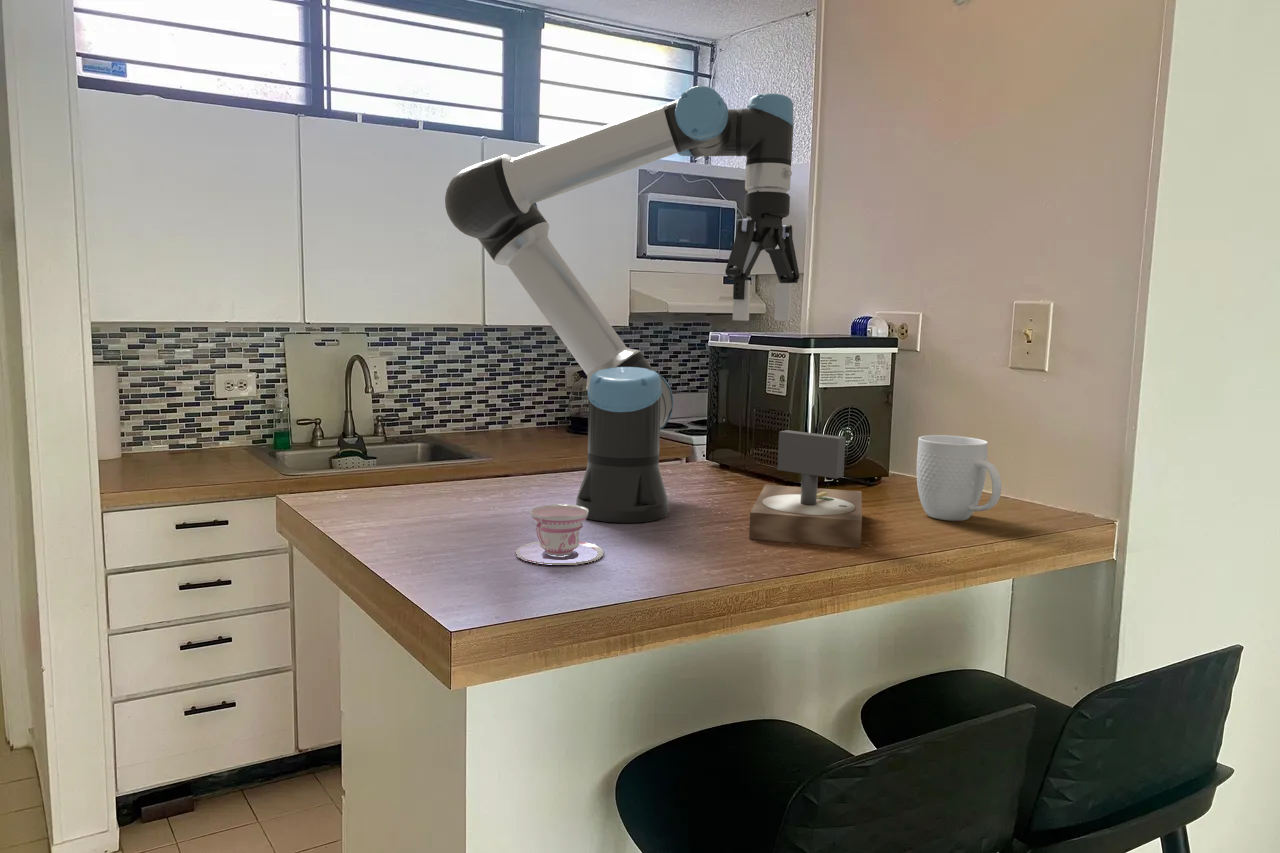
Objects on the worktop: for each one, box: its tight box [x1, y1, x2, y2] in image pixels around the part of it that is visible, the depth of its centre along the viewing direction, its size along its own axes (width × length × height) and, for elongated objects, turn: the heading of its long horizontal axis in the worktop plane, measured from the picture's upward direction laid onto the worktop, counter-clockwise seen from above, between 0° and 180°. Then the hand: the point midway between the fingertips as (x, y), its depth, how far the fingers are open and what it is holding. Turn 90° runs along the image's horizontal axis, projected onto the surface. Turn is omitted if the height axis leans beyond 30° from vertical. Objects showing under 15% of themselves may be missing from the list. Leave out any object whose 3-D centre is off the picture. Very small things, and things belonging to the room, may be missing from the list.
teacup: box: [515, 503, 605, 566], centre depth 123 cm, size 12×12×6 cm
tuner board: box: [748, 484, 863, 549], centre depth 142 cm, size 16×22×4 cm
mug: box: [915, 434, 1002, 522], centre depth 149 cm, size 15×11×13 cm
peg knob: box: [776, 429, 847, 505], centre depth 140 cm, size 7×10×11 cm
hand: (762, 320), depth 154 cm, fingers open, 13 cm apart
